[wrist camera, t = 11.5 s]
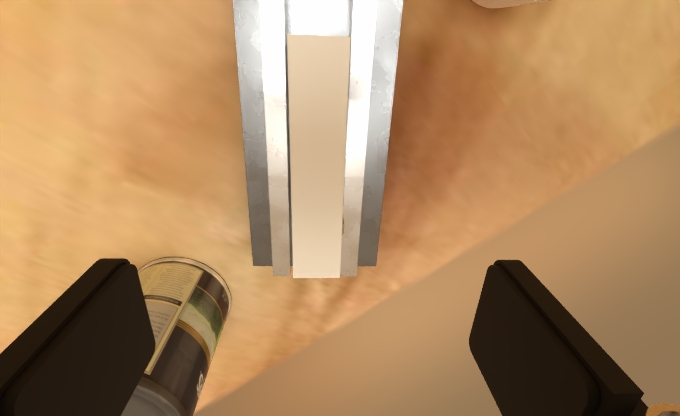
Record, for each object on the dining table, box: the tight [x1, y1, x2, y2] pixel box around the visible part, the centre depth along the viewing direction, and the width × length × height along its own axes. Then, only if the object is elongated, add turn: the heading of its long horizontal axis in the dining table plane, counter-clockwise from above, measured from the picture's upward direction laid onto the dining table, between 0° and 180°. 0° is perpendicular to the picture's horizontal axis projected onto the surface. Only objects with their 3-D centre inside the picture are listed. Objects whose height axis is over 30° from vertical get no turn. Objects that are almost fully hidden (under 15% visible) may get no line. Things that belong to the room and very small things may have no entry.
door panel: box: [287, 34, 351, 278], centre depth 24 cm, size 3×14×10 cm, turn 178°
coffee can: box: [121, 257, 231, 416], centre depth 30 cm, size 10×10×14 cm
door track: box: [233, 0, 403, 276], centre depth 28 cm, size 12×26×4 cm, turn 178°
